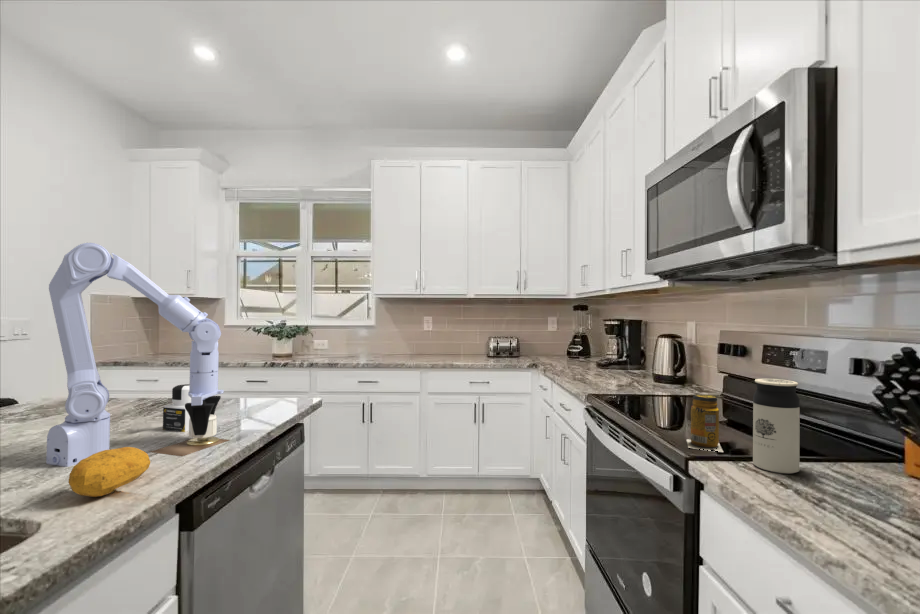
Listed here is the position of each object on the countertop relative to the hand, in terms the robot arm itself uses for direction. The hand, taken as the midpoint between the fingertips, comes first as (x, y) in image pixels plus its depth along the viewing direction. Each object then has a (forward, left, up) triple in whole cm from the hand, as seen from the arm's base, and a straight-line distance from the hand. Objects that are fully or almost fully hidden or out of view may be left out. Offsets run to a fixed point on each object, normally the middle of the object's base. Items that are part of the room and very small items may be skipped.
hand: (203, 431), depth 106 cm
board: (-3, 0, -4) cm, 5 cm away
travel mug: (+28, -121, -4) cm, 124 cm away
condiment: (+41, -110, -4) cm, 117 cm away
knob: (0, 0, -2) cm, 2 cm away
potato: (-25, -6, -4) cm, 26 cm away
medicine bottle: (+9, +15, -4) cm, 18 cm away
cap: (0, 0, -1) cm, 1 cm away
